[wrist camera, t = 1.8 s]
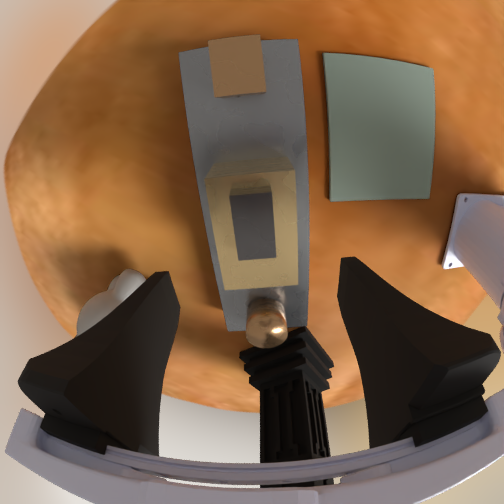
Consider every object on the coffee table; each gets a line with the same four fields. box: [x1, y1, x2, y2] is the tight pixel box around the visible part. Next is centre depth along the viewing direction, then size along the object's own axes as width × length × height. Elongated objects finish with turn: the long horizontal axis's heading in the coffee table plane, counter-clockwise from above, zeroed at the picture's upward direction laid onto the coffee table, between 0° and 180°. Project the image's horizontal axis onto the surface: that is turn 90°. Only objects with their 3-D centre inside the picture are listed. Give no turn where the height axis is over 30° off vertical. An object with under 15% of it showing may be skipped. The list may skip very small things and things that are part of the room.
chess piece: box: [239, 326, 334, 488], centre depth 21 cm, size 8×8×20 cm
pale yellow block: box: [204, 157, 298, 290], centre depth 16 cm, size 7×4×4 cm, turn 6°
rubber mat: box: [322, 53, 435, 202], centre depth 17 cm, size 9×11×1 cm
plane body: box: [179, 34, 309, 348], centre depth 18 cm, size 22×7×6 cm, turn 6°
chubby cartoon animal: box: [75, 269, 146, 337], centre depth 23 cm, size 7×12×8 cm, turn 123°
